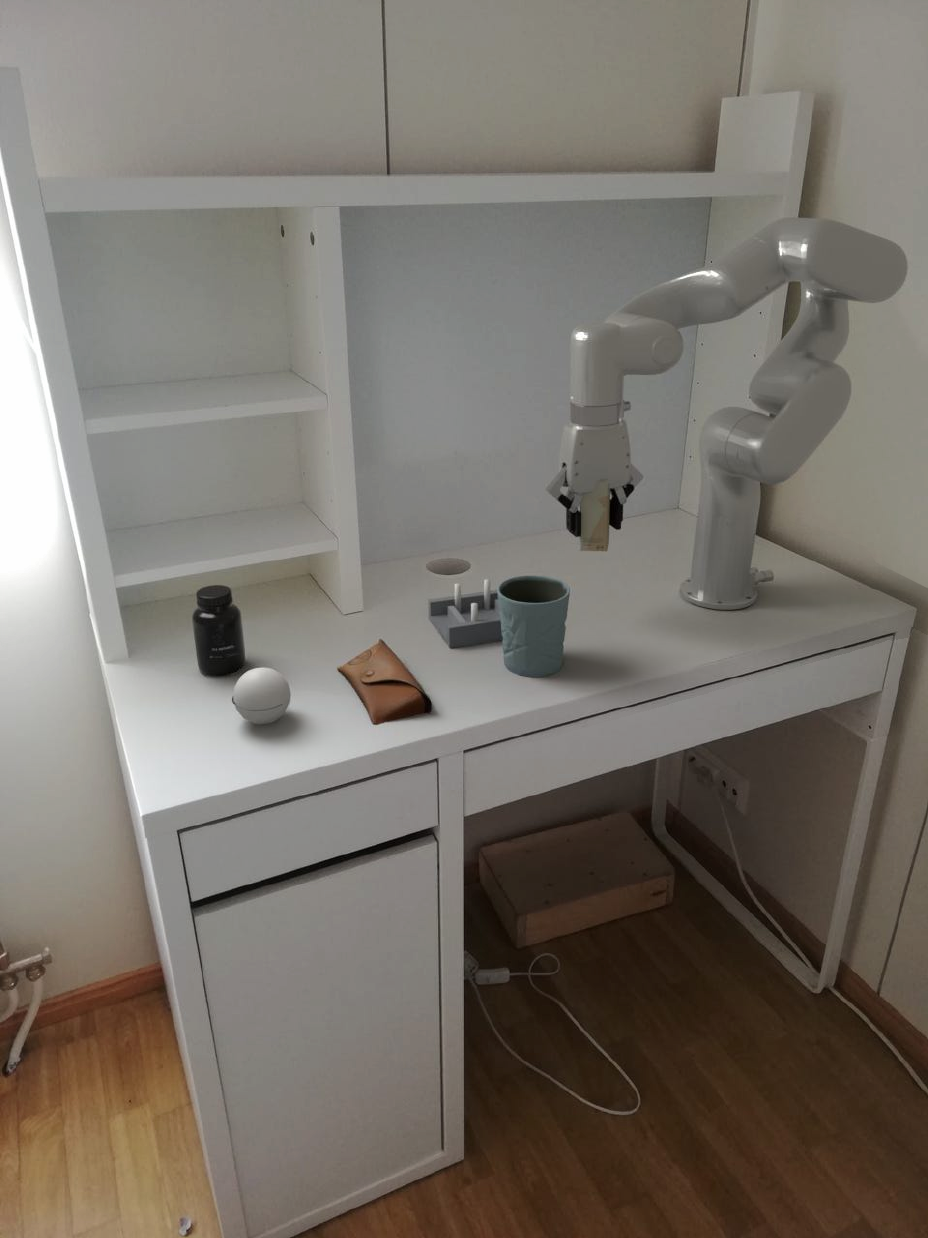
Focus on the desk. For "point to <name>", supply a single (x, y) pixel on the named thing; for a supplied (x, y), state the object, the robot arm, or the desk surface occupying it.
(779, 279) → the robot arm
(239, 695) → the white ball
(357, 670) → the sunglasses case
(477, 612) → the tray
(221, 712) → the desk surface
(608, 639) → the desk surface
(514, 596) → the teal embossed cup
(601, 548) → the box
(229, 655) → the supplement bottle
